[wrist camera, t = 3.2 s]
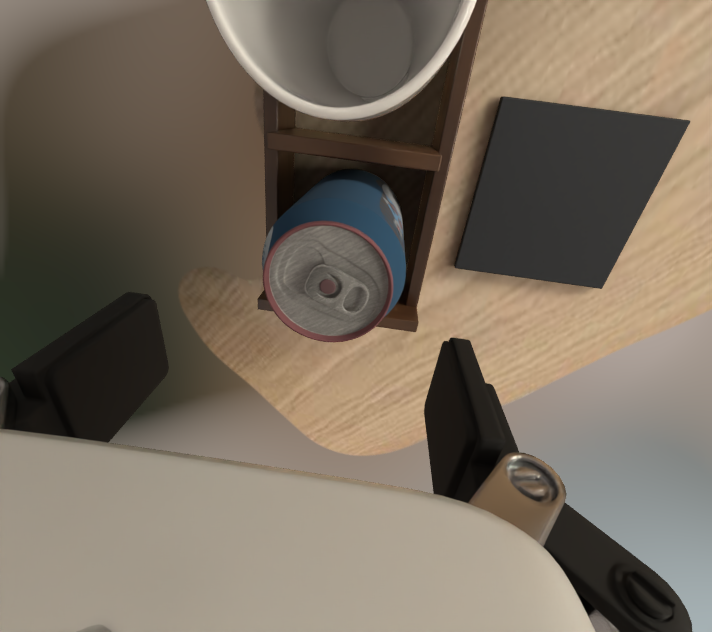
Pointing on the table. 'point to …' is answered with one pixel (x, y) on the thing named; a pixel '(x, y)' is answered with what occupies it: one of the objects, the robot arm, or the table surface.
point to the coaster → (563, 190)
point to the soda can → (336, 258)
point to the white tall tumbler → (342, 50)
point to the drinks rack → (434, 159)
